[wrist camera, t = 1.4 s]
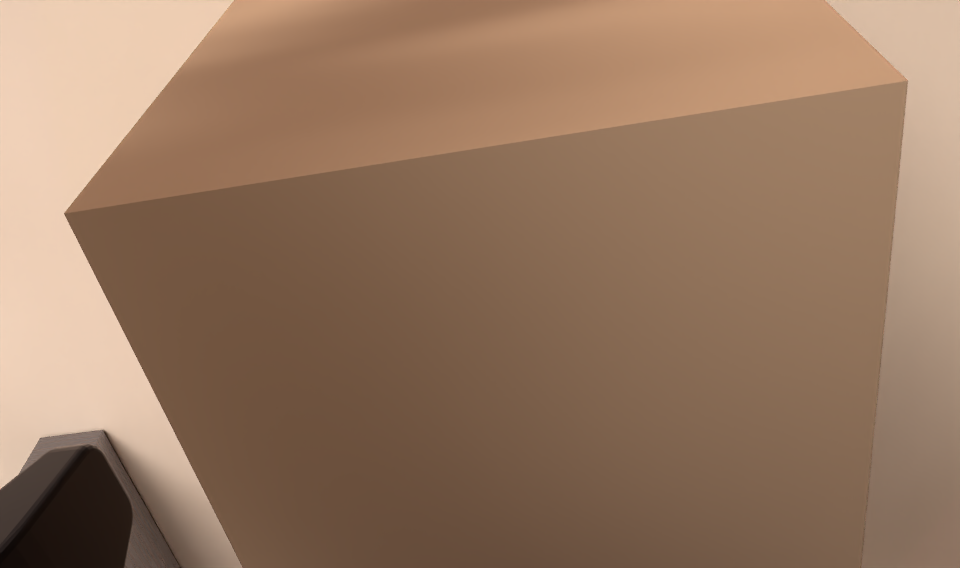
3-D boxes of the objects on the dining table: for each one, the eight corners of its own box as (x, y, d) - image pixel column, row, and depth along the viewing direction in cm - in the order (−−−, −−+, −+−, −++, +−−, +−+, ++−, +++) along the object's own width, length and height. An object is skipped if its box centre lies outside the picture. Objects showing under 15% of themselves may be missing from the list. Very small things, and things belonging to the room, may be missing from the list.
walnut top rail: (646, -172, 11) (908, 80, 4) (695, 575, 18) (811, 1084, 12) (322, -109, 11) (62, 214, 4) (503, 595, 19) (510, 1097, 12)
